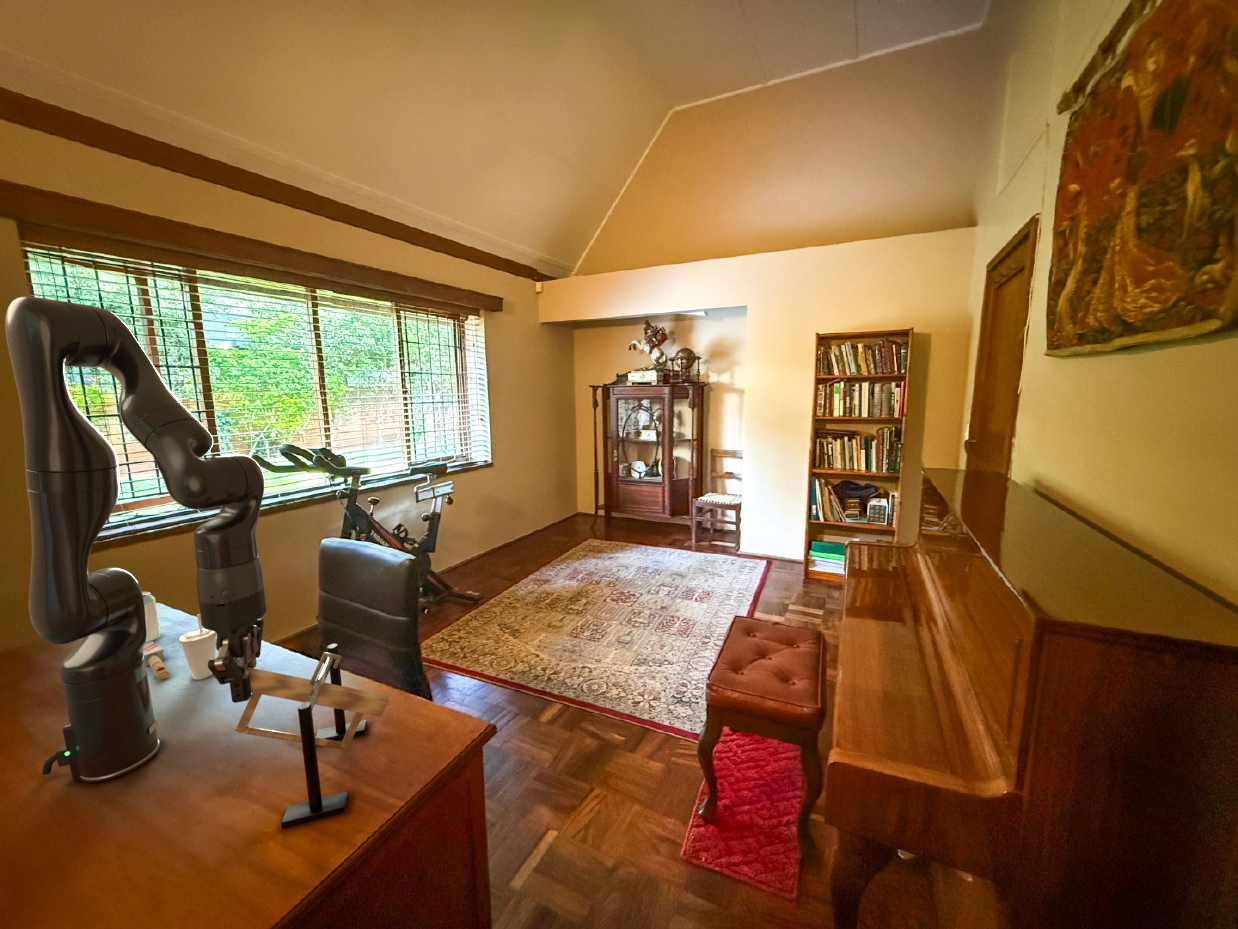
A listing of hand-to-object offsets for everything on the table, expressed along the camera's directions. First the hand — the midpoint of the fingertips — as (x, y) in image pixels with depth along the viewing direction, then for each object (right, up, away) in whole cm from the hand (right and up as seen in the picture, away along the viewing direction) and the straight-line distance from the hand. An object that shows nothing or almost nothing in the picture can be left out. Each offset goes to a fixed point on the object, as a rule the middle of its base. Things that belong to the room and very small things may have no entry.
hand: (244, 696), depth 72 cm
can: (-63, -9, +46) cm, 79 cm away
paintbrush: (-50, -11, +36) cm, 63 cm away
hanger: (+5, -9, +3) cm, 11 cm away
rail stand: (+10, -15, +6) cm, 19 cm away
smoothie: (-35, -11, +32) cm, 49 cm away
